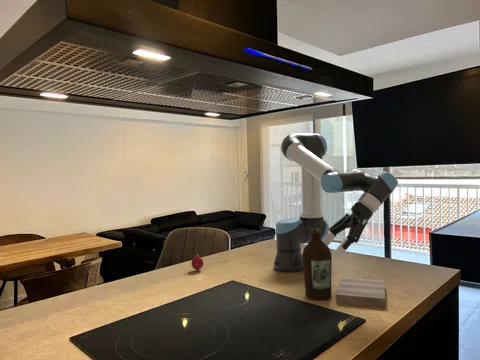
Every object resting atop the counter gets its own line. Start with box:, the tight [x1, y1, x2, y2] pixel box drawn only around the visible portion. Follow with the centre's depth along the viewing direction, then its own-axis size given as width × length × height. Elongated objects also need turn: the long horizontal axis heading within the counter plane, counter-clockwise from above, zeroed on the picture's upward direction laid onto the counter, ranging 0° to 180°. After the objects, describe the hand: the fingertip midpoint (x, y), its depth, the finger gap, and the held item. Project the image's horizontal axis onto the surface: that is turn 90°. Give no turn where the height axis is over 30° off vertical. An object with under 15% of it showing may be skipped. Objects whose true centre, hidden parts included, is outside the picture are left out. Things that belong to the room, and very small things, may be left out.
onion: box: [191, 254, 205, 272], centre depth 170 cm, size 6×6×8 cm
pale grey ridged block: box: [335, 276, 386, 308], centre depth 129 cm, size 20×16×3 cm
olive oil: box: [302, 229, 333, 301], centre depth 130 cm, size 11×11×25 cm
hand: (328, 250), depth 129 cm, fingers open, 13 cm apart
